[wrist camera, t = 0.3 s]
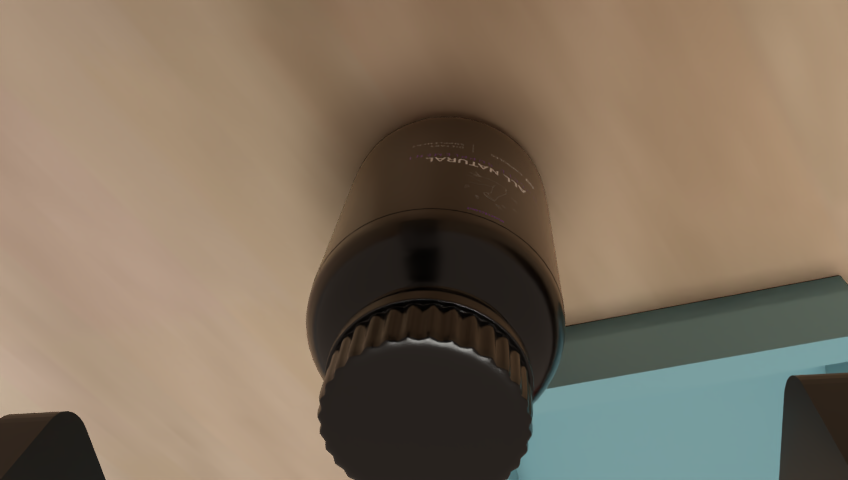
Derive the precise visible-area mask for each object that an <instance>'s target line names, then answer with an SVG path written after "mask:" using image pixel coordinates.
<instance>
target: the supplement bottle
mask: <svg viewBox="0 0 848 480" xmlns="http://www.w3.org/2000/svg"><path fill="white" fill-rule="evenodd" d="M306 329H307V339H308V344H309V348H310V351H311V355H312V358H313V360H314V363H315V365H316V367H317V370H318V372H319V373H320V375H321V377H322V379H323V381H324V382H323V385H322V388H321V392H320V396H319V401H320V405H319V409H318V419H319V421H320V423H321V426H320V434H321V436H322V437H323V438H324V440H325V441H326V444H325V445H326V450H327V451H328V452H329V453H330V454H331V455H333V457H334V461H335V464H337V465H338V466H339V467H341V468H343V469H344V470H345V472H346V474H347V476H348V477H350V478H352V479H354V480H507V479H508V478H509V476H510V473H511V472H512V471H513V470H515V469H517V468H518V467H519V466H520V461H521V458H522V457H523V456H524V455H525V454H526V453H527V452H528V441H529V440H530V438H531V436H532V433H533V424H532V417H533V404H534V403H535V402H536V401H537V400H538V399H539V398H540V396H541V395H542V394H543V392H544V391H545V390H546V389H547V387H548V385H549V384H550V382H551V380H552V379H553V377H554V375H555V373H556V371H557V369H558V366H559V363H560V360H561V357H562V353H563V349H564V343H565V312H564V305H563V298H562V292H561V285H560V279H559V273H558V266H557V260H556V254H555V248H554V241H553V235H552V229H551V223H550V217H549V210H548V204H547V200H546V195H545V191H544V187H543V183H542V181H541V178H540V175H539V173H538V171H537V169H536V167H535V165H534V164H533V162H532V161H531V159H530V158H529V156H528V155H527V154H526V153H525V151H524V150H523V149H522V148H521V147H520V146H519V145H518V144H517V143H516V142H515V141H513V140H512V139H511V138H510V137H508V136H507V135H505V134H504V133H502V132H501V131H499V130H497V129H495V128H493V127H491V126H489V125H487V124H484V123H481V122H478V121H475V120H471V119H466V118H459V117H435V118H429V119H424V120H420V121H416V122H413V123H411V124H408V125H405V126H403V127H401V128H399V129H397V130H396V131H394V132H393V133H391V134H389V135H388V136H387V137H385V138H384V139H383V140H382V141H381V142H380V143H378V144H377V145H376V146H375V147H374V149H373V150H372V151H371V152H370V153H369V155H368V156H367V158H366V159H365V160H364V162H363V163H362V165H361V167H360V169H359V171H358V173H357V175H356V178H355V180H354V182H353V184H352V187H351V189H350V192H349V194H348V197H347V199H346V202H345V204H344V207H343V209H342V212H341V214H340V217H339V219H338V222H337V224H336V227H335V229H334V232H333V235H332V237H331V240H330V242H329V245H328V247H327V250H326V252H325V255H324V257H323V260H322V262H321V265H320V267H319V270H318V272H317V275H316V277H315V280H314V283H313V286H312V290H311V293H310V297H309V301H308V306H307V313H306Z"/></svg>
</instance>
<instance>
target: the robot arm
mask: <svg viewBox="0 0 848 480" xmlns="http://www.w3.org/2000/svg"><path fill="white" fill-rule="evenodd" d="M0 480H106V479H105V477H104V474H103V472H102V469H101V466H100V464H99V461H98V459H97V456H96V453H95V451H94V448H93V445H92V443H91V440H90V438H89V435H88V432H87V430H86V427H85V425H84V423H83V422H82V420H81V419H80V418H79V417H78V416H77V415H76V414H74V413H73V412H69V411H65V412H46V413H27V414H9V415H6V416H3V417H2V418H0ZM779 480H848V373H829V374H810V375H791V376H790V377H789V378H788V379H787V382H786V385H785V390H784V403H783V419H782V436H781V453H780V469H779Z"/></svg>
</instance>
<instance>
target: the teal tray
mask: <svg viewBox="0 0 848 480" xmlns="http://www.w3.org/2000/svg"><path fill="white" fill-rule="evenodd" d="M829 373H848V284H847V283H846V282H845V281H844V280H843V278H842V277H841V276H835V277H830V278H824V279H819V280H814V281H808V282H803V283H798V284H792V285H787V286H782V287H776V288H771V289H765V290H760V291H755V292H749V293H744V294H739V295H733V296H728V297H723V298H717V299H712V300H707V301H701V302H696V303H691V304H685V305H680V306H675V307H669V308H664V309H658V310H653V311H648V312H642V313H637V314H632V315H626V316H621V317H616V318H610V319H605V320H600V321H594V322H589V323H584V324H578V325H573V326H568V327H565V343H564V349H563V353H562V357H561V360H560V363H559V366H558V369H557V371H556V373H555V375H554V377H553V379H552V380H551V382H550V384H549V385H548V387H547V389H546V390H545V391H544V392H543V394H542V395H541V396H540V398H539V399H538V400H537V401H536V402H535V403H534V404H533V417H532V424H533V433H532V436H531V438H530V440H529V441H528V452H527V453H526V454H525V455H524V456H523V457H522V458H521V461H520V466H519V467H518V468H517V469H515V470H513V471H512V472H511V473H510V476H509V478H508V479H507V480H779V469H780V453H781V436H782V419H783V403H784V390H785V385H786V382H787V379H788V378H789V377H790V376H791V375H810V374H829Z"/></svg>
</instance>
